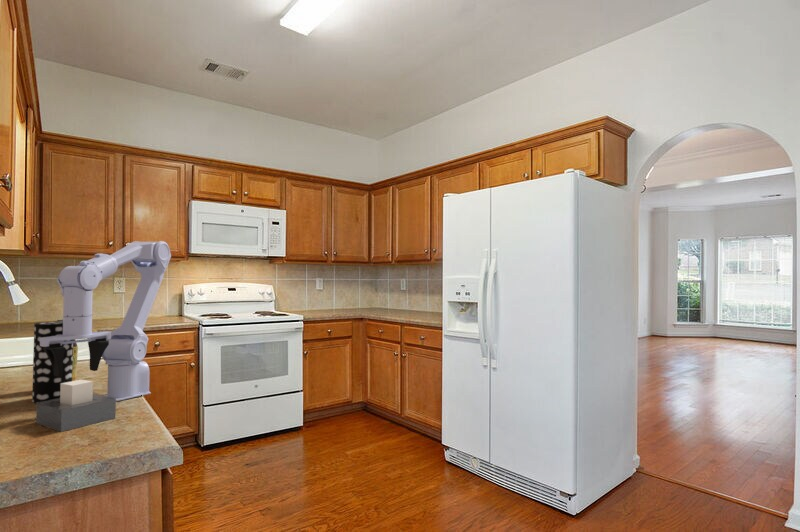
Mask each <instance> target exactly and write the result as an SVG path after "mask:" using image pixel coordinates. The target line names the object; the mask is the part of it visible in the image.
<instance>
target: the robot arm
mask: <svg viewBox="0 0 800 532" xmlns="http://www.w3.org/2000/svg"><path fill="white" fill-rule="evenodd" d="M93 256H94V257H92V258H91V259H88V260H82V261H80V262H79V264H77V265H70V266H69V265H68V266H65V267H64V268H63V269H62V270H61V271H60V272H59V275H58V276H57V277H56V281H57V285H58V286H59V287H60V291H61V295H62V297H63V303H62V304H63V308H62V309H63V310H62V311H63V312H62V319H63V335H57V336H50V337H42V338H40V346H43V350H44V351H45V353H46V354H47V356H48V358H49V360H50V362H51V364H52V367H53V371H54V375H55V376H57V377H61V376H62V375H63V358H64V353H65V349H66V348H65V347H62V346H61V344H69V343H77V344H78V343H87V344H88V345H87V346H88V350H89V371H92V372H96V371H99V370H98V369H99V365H100V362H101V359H102V360H104V361H105V365H107V387H106V388H107V389H106V390H107V392H106V393H107V394H106V393H105V394H103V395H104V396H108V397H112V398H116V402H119V401H124V400H128V399H133V398H137V397H142V396H146V395H150V394H152V393H151V391H150V373H151V372H150V367H149V364H148V363H147V362H146V361H145V360H144V358H145V356H146V355H147V348H148V347H147V346H148V342H149V337H148V335H147V334H146V333H145V332H144V331H143V330H144V328H145V325H146V323H147V320H148V319H149V318H148V317H149V316H150V313H151V311H152V307H153V305H154V303H155V299H156V298H157V295H158V292H159V289H160V288H161V287H160V286H161V284H162V282H163V280H164V276H165V272H166V271H167V268H168V266H169V263H170V261H171V258H172V254H171V249H170V246H169V244H168V243H167V242H166V241H163V240H159V241H137V240H135V241H132V242H129V243H127V244H126V246H124V247H122V248H120V249H119V250H117V251H115V252H113V253H112V254H111V253H110V254H107V253H101V252H98V253H95V254H94V255H93ZM130 262H131V264H132V266H133V267H134V268H135V270H136V272H137V273H139V274H140V275H141V278H140V280H139V282H138V285H137V287H136V289H135V292H134V294H133V296H132V299H131V301H130V303H129V306H128V309H127V311H126V313H125V316H124V318H123V320H122V323H121V325H120V326H119V327H117V328H115V329H114V330H112V331H108V330H106V331H105V330H104V331H103V330H102V331H93V298H94V297H93V293H94V292H93V291H94V290H95V289H97V287H98V286H99V284H100V282H101V281H103V280H104V279H106V278H108V277H110V276H112V275H114V274H115V273H117V270H118V268H119V267H121V266H123V265H125V264H128V263H130ZM71 340H75V341H71ZM64 341H66V342H64ZM139 392H140V393H139ZM141 395H142V396H141Z"/></svg>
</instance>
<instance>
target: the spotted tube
mask: <svg viewBox="0 0 800 532" xmlns="http://www.w3.org/2000/svg"><path fill="white" fill-rule="evenodd" d="M33 328H34V329H33V355H32V356H33V361H32V362H33V363H32V390H31V391H32V394H31V396H32V397H31V402H32V403H34V404H37V402H42V401H47V400H53V399H58V398H60V387H61V383H66V382H71V381H72V365H73V343H69V344H61V346H62V347H65V348H66V349H65V353H64V358H63V375H62V376H61V377H57V376H55V375H54V371H53V367H52V364H51V362H50V360H49V358H48V356H47V354H46V353H45V351H44V350H43V346H40V338H42V337H50V336H57V335H63V321H58V322H57V321H45V322H44V321H43V322H35V323H34V325H33ZM71 341H73V340H71ZM64 342H66V341H64Z"/></svg>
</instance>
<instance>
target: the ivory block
mask: <svg viewBox="0 0 800 532" xmlns="http://www.w3.org/2000/svg"><path fill="white" fill-rule="evenodd" d="M93 385H94V381H92V380H85V379H76V381H71V382H66V383H61V387H60V404H63V405H67V406H71V405H75V404H80V403H85V402H90V401H93V393H94V390H93V389H94V386H93Z"/></svg>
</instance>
